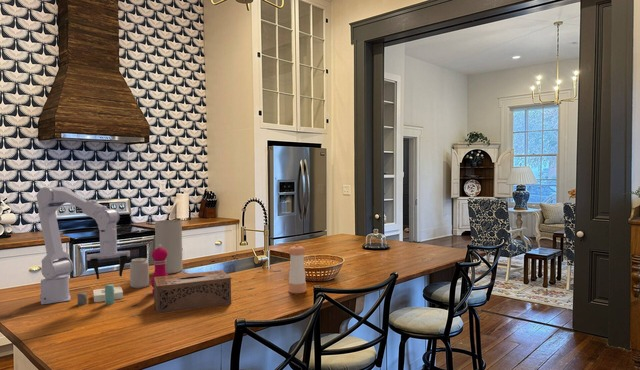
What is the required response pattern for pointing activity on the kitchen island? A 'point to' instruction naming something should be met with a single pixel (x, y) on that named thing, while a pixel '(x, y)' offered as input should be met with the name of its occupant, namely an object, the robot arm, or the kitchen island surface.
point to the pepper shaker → (297, 270)
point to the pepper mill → (159, 263)
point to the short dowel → (82, 298)
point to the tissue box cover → (191, 291)
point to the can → (139, 273)
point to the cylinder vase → (170, 243)
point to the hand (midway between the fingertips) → (109, 277)
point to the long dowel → (109, 294)
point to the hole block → (100, 294)
